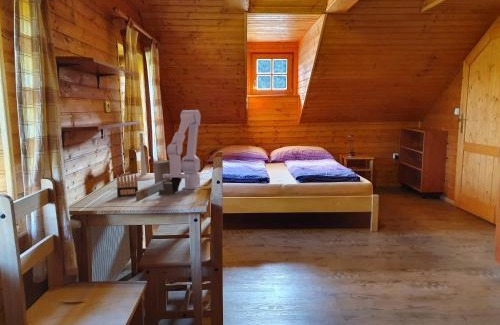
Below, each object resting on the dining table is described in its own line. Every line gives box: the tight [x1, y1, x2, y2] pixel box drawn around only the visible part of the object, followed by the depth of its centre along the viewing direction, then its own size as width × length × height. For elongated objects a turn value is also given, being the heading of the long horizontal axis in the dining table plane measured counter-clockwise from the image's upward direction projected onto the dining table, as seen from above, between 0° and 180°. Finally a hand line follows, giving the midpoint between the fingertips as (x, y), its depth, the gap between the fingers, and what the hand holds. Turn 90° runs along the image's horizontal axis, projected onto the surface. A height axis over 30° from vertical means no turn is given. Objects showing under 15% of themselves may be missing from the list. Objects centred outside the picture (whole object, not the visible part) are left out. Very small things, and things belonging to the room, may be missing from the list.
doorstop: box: [158, 182, 177, 196], centre depth 204 cm, size 8×4×6 cm, turn 74°
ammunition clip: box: [116, 173, 139, 198], centre depth 200 cm, size 11×2×12 cm, turn 100°
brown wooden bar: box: [135, 180, 167, 202], centre depth 205 cm, size 30×2×5 cm, turn 164°
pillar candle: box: [152, 159, 171, 184], centre depth 229 cm, size 10×10×15 cm
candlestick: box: [136, 132, 155, 182], centre depth 245 cm, size 13×13×30 cm
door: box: [146, 182, 163, 196], centre depth 208 cm, size 16×1×4 cm, turn 164°
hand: (176, 191), depth 203 cm, fingers closed
